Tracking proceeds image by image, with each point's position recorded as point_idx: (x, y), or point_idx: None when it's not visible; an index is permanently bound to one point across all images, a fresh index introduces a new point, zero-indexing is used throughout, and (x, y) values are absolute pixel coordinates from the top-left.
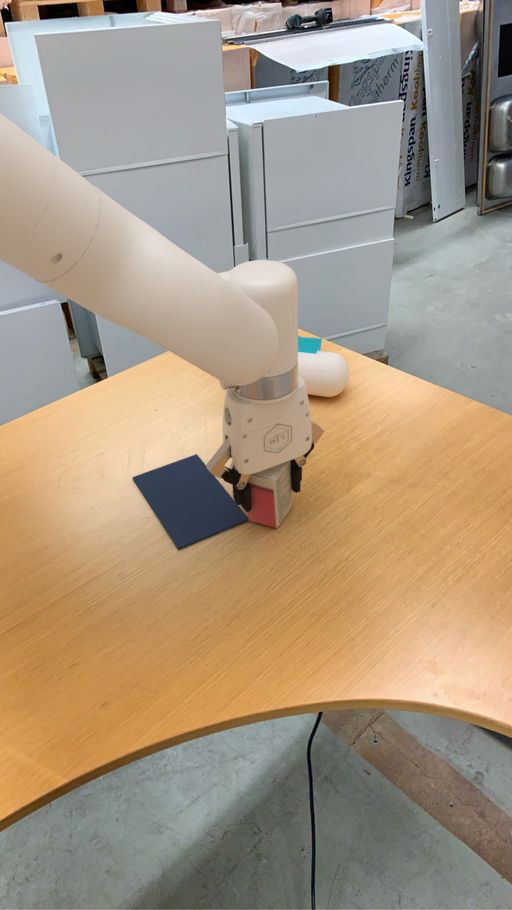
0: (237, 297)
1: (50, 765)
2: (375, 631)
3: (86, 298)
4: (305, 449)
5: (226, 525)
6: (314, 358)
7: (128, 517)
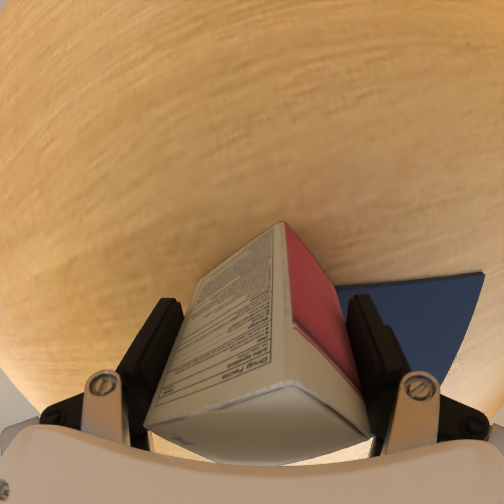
0: None
1: None
2: None
3: None
4: (32, 448)
5: (388, 293)
6: None
7: (471, 366)
